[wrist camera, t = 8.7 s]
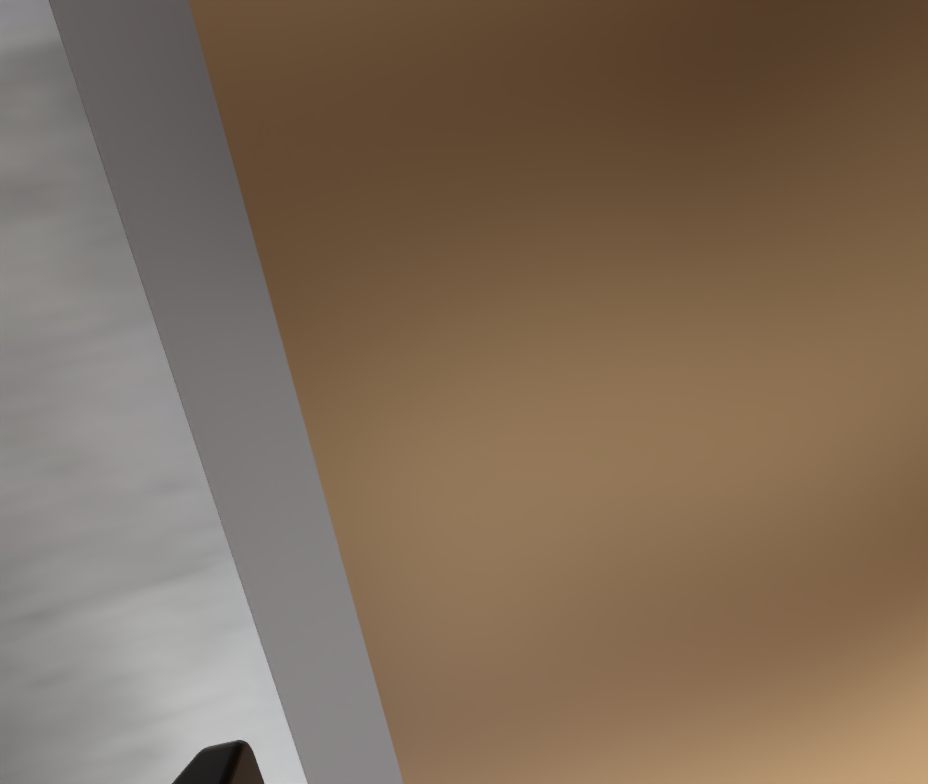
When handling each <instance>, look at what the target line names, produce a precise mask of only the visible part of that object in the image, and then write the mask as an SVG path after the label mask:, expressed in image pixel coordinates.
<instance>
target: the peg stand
mask: <svg viewBox="0 0 928 784" xmlns="http://www.w3.org/2000/svg"><path fill="white" fill-rule="evenodd" d="M49 3H50V6H51V9H52V12H53V15H54V18H55V21H56V24H57V27H58V30H59V33H60V36H61V39H62V42H63V45H64V48H65V51H66V54H67V57H68V60H69V63H70V66H71V69H72V72H73V75H74V78H75V81H76V84H77V87H78V90H79V93H80V96H81V99H82V102H83V105H84V109H85V112H86V115H87V118H88V121H89V124H90V127H91V130H92V133H93V136H94V139H95V142H96V145H97V148H98V151H99V154H100V157H101V160H102V163H103V166H104V169H105V172H106V175H107V178H108V181H109V184H110V187H111V190H112V193H113V196H114V199H115V202H116V205H117V208H118V211H119V214H120V217H121V220H122V223H123V226H124V229H125V232H126V235H127V239H128V242H129V245H130V248H131V251H132V254H133V257H134V260H135V263H136V266H137V269H138V272H139V275H140V278H141V281H142V284H143V287H144V290H145V293H146V296H147V299H148V302H149V305H150V308H151V311H152V314H153V317H154V320H155V323H156V326H157V329H158V332H159V335H160V338H161V341H162V344H163V347H164V350H165V353H166V356H167V359H168V362H169V365H170V368H171V372H172V375H173V378H174V381H175V384H176V387H177V390H178V393H179V396H180V399H181V402H182V405H183V408H184V411H185V414H186V417H187V420H188V423H189V426H190V429H191V432H192V435H193V438H194V441H195V444H196V447H197V450H198V453H199V456H200V459H201V462H202V465H203V468H204V471H205V474H206V477H207V480H208V483H209V486H210V489H211V492H212V495H213V498H214V502H215V505H216V508H217V511H218V514H219V517H220V520H221V523H222V526H223V529H224V532H225V535H226V538H227V541H228V544H229V547H230V550H231V553H232V556H233V559H234V562H235V565H236V568H237V571H238V574H239V577H240V580H241V583H242V586H243V589H244V592H245V595H246V598H247V601H248V604H249V607H250V610H251V613H252V616H253V619H254V622H255V625H256V628H257V632H258V635H259V638H260V641H261V644H262V647H263V650H264V653H265V656H266V659H267V662H268V665H269V668H270V671H271V674H272V677H273V680H274V683H275V686H276V689H277V692H278V695H279V698H280V701H281V704H282V707H283V710H284V713H285V716H286V719H287V722H288V725H289V728H290V731H291V734H292V737H293V740H294V743H295V746H296V749H297V752H298V755H299V758H300V762H301V765H302V768H303V771H304V774H305V777H306V780H307V783H308V784H403V780H402V776H401V773H400V769H399V766H398V762H397V758H396V755H395V751H394V747H393V744H392V740H391V736H390V733H389V729H388V725H387V722H386V718H385V715H384V711H383V707H382V704H381V700H380V696H379V693H378V689H377V685H376V682H375V678H374V674H373V671H372V667H371V664H370V660H369V656H368V653H367V649H366V645H365V642H364V638H363V634H362V631H361V627H360V624H359V620H358V616H357V613H356V609H355V605H354V602H353V598H352V594H351V591H350V587H349V583H348V580H347V576H346V573H345V569H344V565H343V562H342V558H341V554H340V551H339V547H338V543H337V540H336V536H335V532H334V529H333V525H332V522H331V518H330V514H329V511H328V507H327V503H326V500H325V496H324V492H323V489H322V485H321V481H320V478H319V474H318V471H317V467H316V463H315V460H314V456H313V452H312V449H311V445H310V441H309V438H308V434H307V430H306V427H305V423H304V420H303V416H302V412H301V409H300V405H299V401H298V398H297V394H296V390H295V387H294V383H293V379H292V376H291V372H290V369H289V365H288V361H287V358H286V354H285V350H284V347H283V343H282V339H281V336H280V332H279V328H278V325H277V321H276V318H275V314H274V310H273V307H272V303H271V299H270V296H269V292H268V288H267V285H266V281H265V277H264V274H263V270H262V267H261V263H260V259H259V256H258V252H257V248H256V245H255V241H254V237H253V234H252V230H251V226H250V223H249V219H248V216H247V212H246V208H245V205H244V201H243V197H242V194H241V190H240V186H239V183H238V179H237V175H236V172H235V168H234V165H233V161H232V157H231V154H230V150H229V146H228V143H227V139H226V135H225V132H224V128H223V124H222V121H221V117H220V114H219V110H218V106H217V103H216V99H215V95H214V92H213V88H212V84H211V81H210V77H209V74H208V70H207V66H206V63H205V59H204V55H203V52H202V48H201V44H200V41H199V37H198V33H197V30H196V26H195V23H194V19H193V15H192V12H191V8H190V4H189V1H188V0H49Z"/></svg>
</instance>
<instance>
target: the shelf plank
mask: <svg viewBox="0 0 928 784" xmlns="http://www.w3.org/2000/svg"><path fill="white" fill-rule="evenodd" d="M188 1H189V4H190V8H191V12H192V15H193V19H194V23H195V26H196V30H197V33H198V37H199V41H200V44H201V48H202V52H203V55H204V59H205V63H206V66H207V70H208V74H209V77H210V81H211V84H212V88H213V92H214V95H215V99H216V103H217V106H218V110H219V114H220V117H221V121H222V124H223V128H224V132H225V135H226V139H227V143H228V146H229V150H230V154H231V157H232V161H233V165H234V168H235V172H236V175H237V179H238V183H239V186H240V190H241V194H242V197H243V201H244V205H245V208H246V212H247V216H248V219H249V223H250V226H251V230H252V234H253V237H254V241H255V245H256V248H257V252H258V256H259V259H260V263H261V267H262V270H263V274H264V277H265V281H266V285H267V288H268V292H269V296H270V299H271V303H272V307H273V310H274V314H275V318H276V321H277V325H278V328H279V332H280V336H281V339H282V343H283V347H284V350H285V354H286V358H287V361H288V365H289V369H290V372H291V376H292V379H293V383H294V387H295V390H296V394H297V398H298V401H299V405H300V409H301V412H302V416H303V420H304V423H305V427H306V430H307V434H308V438H309V441H310V445H311V449H312V452H313V456H314V460H315V463H316V467H317V471H318V474H319V478H320V481H321V485H322V489H323V492H324V496H325V500H326V503H327V507H328V511H329V514H330V518H331V522H332V525H333V529H334V532H335V536H336V540H337V543H338V547H339V551H340V554H341V558H342V562H343V565H344V569H345V573H346V576H347V580H348V583H349V587H350V591H351V594H352V598H353V602H354V605H355V609H356V613H357V616H358V620H359V624H360V627H361V631H362V634H363V638H364V642H365V645H366V649H367V653H368V656H369V660H370V664H371V667H372V671H373V674H374V678H375V682H376V685H377V689H378V693H379V696H380V700H381V704H382V707H383V711H384V715H385V718H386V722H387V725H388V729H389V733H390V736H391V740H392V744H393V747H394V751H395V755H396V758H397V762H398V766H399V769H400V773H401V776H402V780H403V784H928V0H188Z"/></svg>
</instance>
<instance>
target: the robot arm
mask: <svg viewBox="0 0 928 784" xmlns="http://www.w3.org/2000/svg"><path fill="white" fill-rule="evenodd" d="M172 784H264V781H263V778H262V775H261V773H260V770H259V767H258V764H257V761H256V759H255V756H254V753H253V751H252V748H251V747H250V746H249V744H248V743H247V742H245V741H242V740H237V741H232V742H227V743H223V744H218V745H214V746H209V747H207V748H204V749H203V750H201V751H200V752H199V753H198V754H197V755H196V756H195V757H194V758H193V760H192V761H191V762H190V763H189V764H188V765H187V767H186V768H185V769H184V770H183V771H182V772H181V774H180V775H179V776H178V777H177V778H176V780H175V781H174V782H173V783H172Z"/></svg>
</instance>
